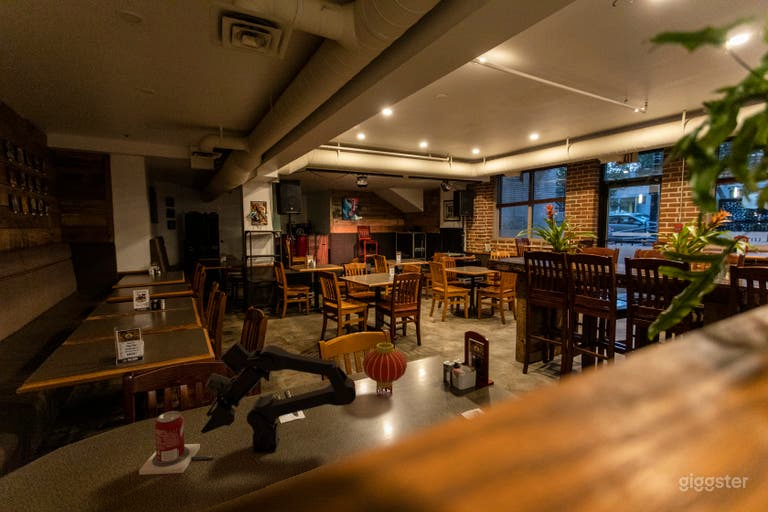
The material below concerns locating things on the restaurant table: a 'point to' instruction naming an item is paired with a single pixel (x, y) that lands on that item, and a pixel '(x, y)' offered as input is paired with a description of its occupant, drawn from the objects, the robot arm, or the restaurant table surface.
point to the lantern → (384, 366)
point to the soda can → (169, 437)
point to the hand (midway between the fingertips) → (204, 423)
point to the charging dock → (176, 466)
